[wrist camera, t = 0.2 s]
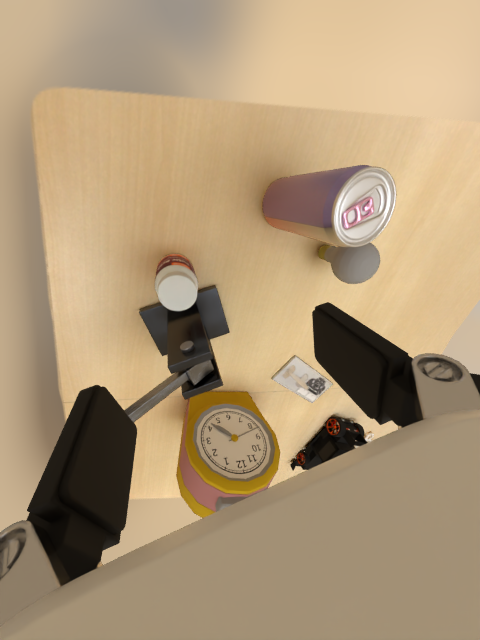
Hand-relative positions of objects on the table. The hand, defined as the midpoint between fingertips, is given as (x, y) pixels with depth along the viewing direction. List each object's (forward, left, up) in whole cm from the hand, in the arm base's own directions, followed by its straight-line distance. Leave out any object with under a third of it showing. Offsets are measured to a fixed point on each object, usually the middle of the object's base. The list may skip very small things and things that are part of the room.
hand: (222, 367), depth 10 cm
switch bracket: (+9, -3, -23) cm, 25 cm away
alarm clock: (+29, -4, -23) cm, 38 cm away
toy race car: (+59, +19, -23) cm, 67 cm away
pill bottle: (+2, -2, -23) cm, 24 cm away
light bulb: (+5, +20, -23) cm, 31 cm away
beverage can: (-3, +14, -23) cm, 27 cm away
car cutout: (+32, +15, -23) cm, 43 cm away
